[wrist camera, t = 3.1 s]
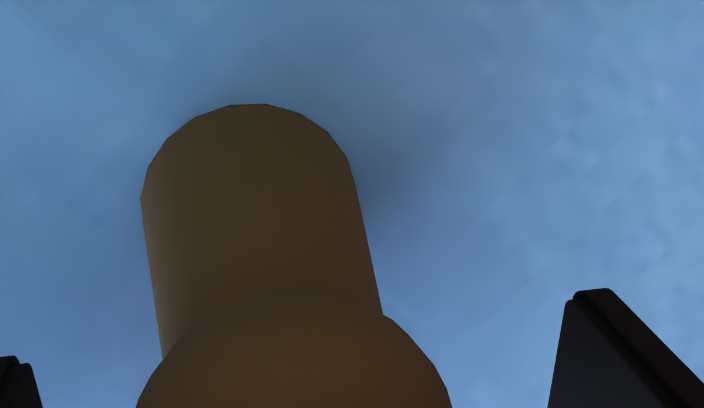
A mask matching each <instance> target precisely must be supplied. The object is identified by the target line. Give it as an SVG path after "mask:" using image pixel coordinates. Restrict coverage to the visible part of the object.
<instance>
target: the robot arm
mask: <svg viewBox="0 0 704 408" xmlns="http://www.w3.org/2000/svg"><path fill="white" fill-rule="evenodd" d="M0 408H43V407H42V403H41V400H40V396H39V392H38V388H37V385H36V381H35V377H34V374H33V370H32V367H31V365H30V364H29V363H23V364H20V363H19V360H18V359H17V357H16V356H5V357H0ZM548 408H704V383H703V382H702V381H701V380H700V379H699V378H698V377H697V376H696V375H695V374H694V373H693V372H692V371H691V370H690V369H689V368H688V367H687V366H686V365H685V364H684V363H683V362H682V361H681V360H680V359H679V358H678V357H677V356H676V355H675V354H674V353H673V352H672V351H671V350H670V349H669V348H668V347H667V346H666V345H665V344H664V343H663V342H662V341H661V340H660V339H659V338H658V337H657V336H656V335H655V334H654V333H653V332H652V331H651V330H650V329H649V328H648V326H647V325H646V324H645V323H644V322H643V321H642V320H641V319H640V318H639V317H638V316H637V315H636V314H635V313H634V312H633V311H632V310H631V309H630V308H629V307H628V306H627V305H626V304H625V303H624V302H623V301H622V300H621V299H620V298H619V297H618V296H617V295H616V294H615V293H614V292H613V291H612V290H610V289H608V288H601V289H592V290H583V291H578V292H576V293H575V294H574V296H573V299H572V300H569V301H567V302H566V304H565V308H564V314H563V320H562V326H561V332H560V338H559V344H558V349H557V355H556V361H555V367H554V373H553V379H552V385H551V391H550V396H549V402H548Z"/></svg>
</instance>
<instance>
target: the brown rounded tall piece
mask: <svg viewBox="0 0 704 408" xmlns="http://www.w3.org/2000/svg"><path fill="white" fill-rule="evenodd" d="M140 200H141V208H142V217H143V225H144V233H145V240H146V247H147V254H148V261H149V267H150V274H151V281H152V288H153V295H154V302H155V309H156V316H157V323H158V330H159V337H160V344H161V351H162V358H163V360H162V362H161V363H160V364H159V366H158V367H157V368H156V370H155V371H154V372H153V374H152V375H151V376H150V378H149V380H148V382H147V384H146V386H145V388H144V390H143V392H142V394H141V396H140V398H139V399H138V402H137V406H136V408H452V405H451V402H450V398H449V395H448V391H447V388H446V387H445V385H444V383H443V381H442V379H441V377H440V375H439V373H438V372H437V370H436V368H435V366H434V364H433V363H432V362H431V361H430V360H429V358H428V357H427V356H426V355H425V354H424V353H423V351H422V350H421V349H420V348H419V347H418V346H417V344H416V343H415V342H414V341H413V340H412V338H411V337H410V336H409V335H408V334H407V333H406V332H405V331H404V330H403V329H402V328H400V327H399V326H398V325H397V324H396V323H395V322H394V321H393V320H392V319H390V318H388V317H386V316H385V315H383V312H382V308H381V303H380V298H379V293H378V289H377V284H376V279H375V275H374V270H373V265H372V261H371V256H370V251H369V247H368V242H367V237H366V232H365V228H364V223H363V218H362V214H361V209H360V204H359V200H358V195H357V190H356V185H355V182H354V179H353V176H352V173H351V170H350V167H349V163H348V160H347V157H346V156H345V154H344V153H343V152H342V150H341V149H340V148H339V146H338V145H337V144H336V143H335V141H334V140H333V139H332V137H331V136H330V135H329V133H328V132H327V131H325V130H324V129H322V128H321V127H319V126H318V125H316V124H315V123H313V122H312V121H310V120H309V119H307V118H306V117H304V116H303V115H301V114H300V113H296V112H293V111H289V110H286V109H282V108H278V107H275V106H271V105H268V104H251V105H229V106H226V107H223V108H220V109H217V110H215V111H212V112H209V113H206V114H203V115H200V116H197V117H195V118H194V119H192V120H191V121H190V122H188V123H187V124H186V125H184V126H183V127H182V128H180V129H179V130H178V131H177V132H175V133H174V134H173V135H171V136H170V137H169V138H167V140H166V141H165V142H164V144H163V145H162V147H161V148H160V150H159V151H158V153H157V154H156V156H155V157H154V159H153V160H152V162H151V163H150V165H149V166H148V169H147V173H146V177H145V181H144V185H143V189H142V193H141V197H140Z"/></svg>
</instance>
